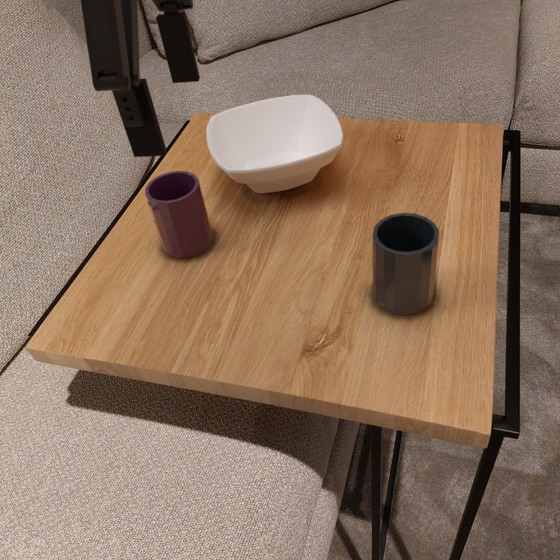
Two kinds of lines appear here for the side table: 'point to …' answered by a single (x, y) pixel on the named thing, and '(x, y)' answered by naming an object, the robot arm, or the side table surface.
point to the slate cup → (404, 262)
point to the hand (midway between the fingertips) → (170, 114)
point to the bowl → (275, 141)
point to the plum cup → (179, 214)
